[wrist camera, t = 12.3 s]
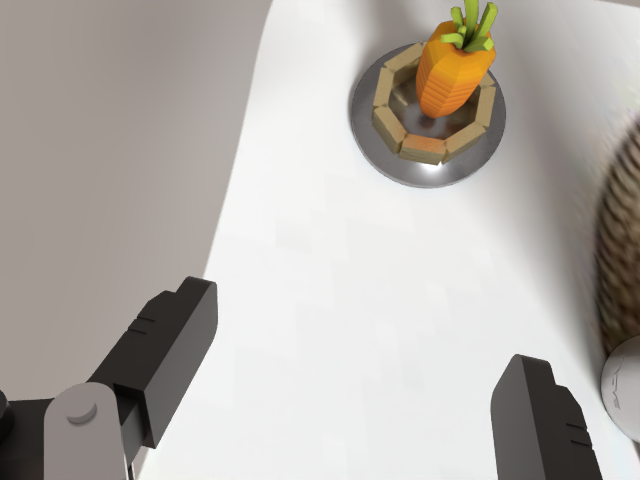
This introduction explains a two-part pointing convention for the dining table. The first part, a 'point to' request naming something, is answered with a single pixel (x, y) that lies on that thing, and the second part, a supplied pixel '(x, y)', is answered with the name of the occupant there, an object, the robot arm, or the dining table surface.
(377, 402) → the dining table surface
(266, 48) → the dining table surface
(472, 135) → the hub socket
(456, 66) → the carrot
